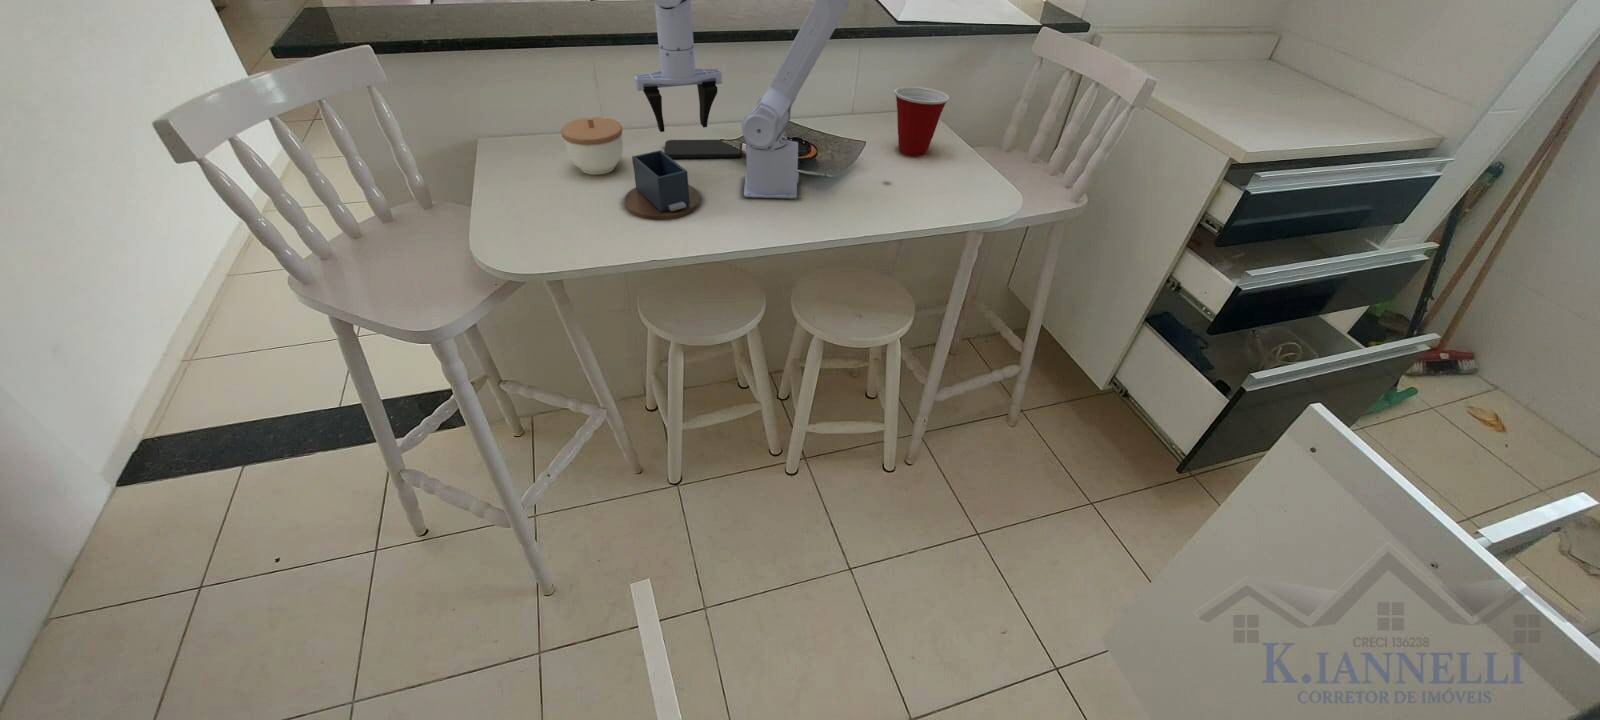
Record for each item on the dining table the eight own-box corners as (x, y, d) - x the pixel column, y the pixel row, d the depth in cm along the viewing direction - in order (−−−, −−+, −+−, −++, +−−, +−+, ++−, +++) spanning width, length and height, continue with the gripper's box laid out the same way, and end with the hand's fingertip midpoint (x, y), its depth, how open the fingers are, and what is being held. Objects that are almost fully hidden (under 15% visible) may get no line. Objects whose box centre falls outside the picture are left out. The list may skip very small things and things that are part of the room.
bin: (693, 207, 113) (690, 173, 109) (664, 214, 111) (660, 181, 107) (664, 182, 120) (660, 149, 116) (636, 188, 117) (631, 156, 114)
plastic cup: (947, 149, 139) (958, 90, 131) (926, 166, 131) (936, 105, 124) (901, 136, 143) (908, 79, 135) (877, 153, 136) (884, 93, 128)
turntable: (703, 186, 121) (703, 182, 121) (696, 220, 112) (696, 216, 111) (632, 184, 121) (631, 180, 120) (618, 218, 111) (618, 214, 111)
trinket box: (613, 183, 121) (605, 132, 115) (558, 176, 122) (547, 126, 116) (636, 159, 129) (629, 111, 123) (584, 153, 130) (575, 105, 124)
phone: (741, 154, 131) (664, 154, 129) (741, 158, 131) (664, 158, 129) (739, 139, 136) (665, 139, 134) (739, 143, 137) (665, 143, 135)
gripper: (712, 36, 114) (716, 115, 123) (627, 42, 110) (637, 123, 119) (724, 48, 109) (726, 129, 118) (635, 54, 105) (645, 138, 114)
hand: (682, 127), depth 118 cm, fingers open, 7 cm apart
